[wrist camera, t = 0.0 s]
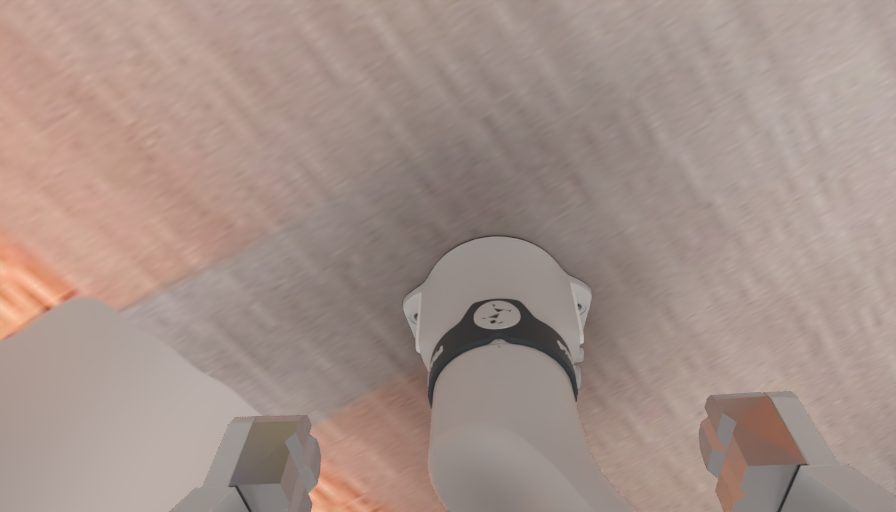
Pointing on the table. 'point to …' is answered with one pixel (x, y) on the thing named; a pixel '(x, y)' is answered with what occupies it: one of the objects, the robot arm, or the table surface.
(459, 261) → the robot arm
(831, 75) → the table surface
